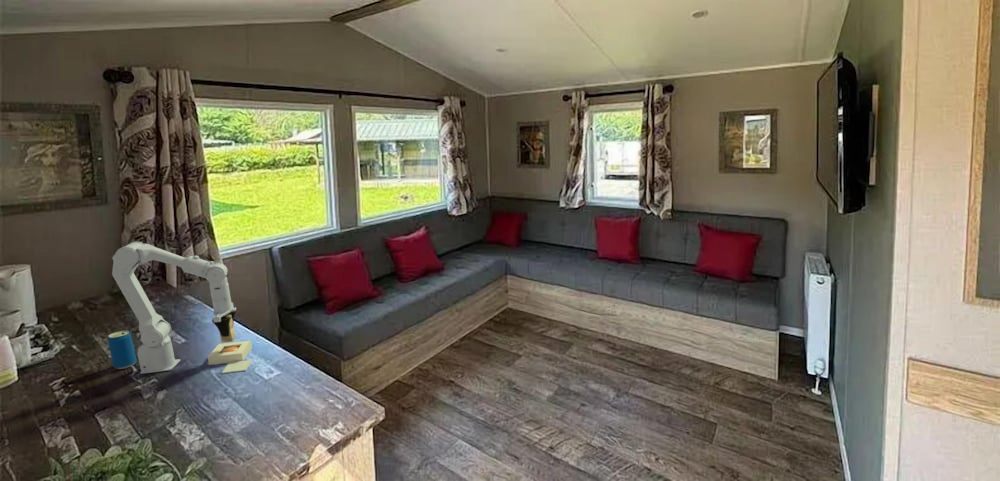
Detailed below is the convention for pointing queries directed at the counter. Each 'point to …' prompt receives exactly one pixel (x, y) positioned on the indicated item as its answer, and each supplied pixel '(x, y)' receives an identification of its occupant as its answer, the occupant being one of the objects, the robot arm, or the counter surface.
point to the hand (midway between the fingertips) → (227, 333)
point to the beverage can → (122, 349)
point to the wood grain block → (231, 331)
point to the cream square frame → (229, 353)
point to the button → (230, 349)
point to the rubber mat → (237, 366)
